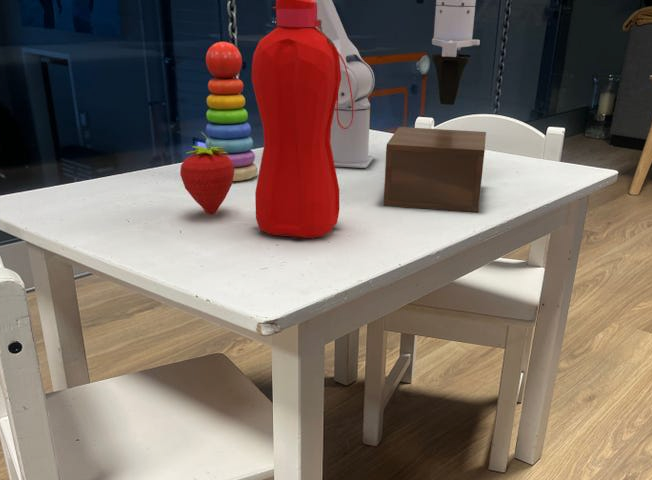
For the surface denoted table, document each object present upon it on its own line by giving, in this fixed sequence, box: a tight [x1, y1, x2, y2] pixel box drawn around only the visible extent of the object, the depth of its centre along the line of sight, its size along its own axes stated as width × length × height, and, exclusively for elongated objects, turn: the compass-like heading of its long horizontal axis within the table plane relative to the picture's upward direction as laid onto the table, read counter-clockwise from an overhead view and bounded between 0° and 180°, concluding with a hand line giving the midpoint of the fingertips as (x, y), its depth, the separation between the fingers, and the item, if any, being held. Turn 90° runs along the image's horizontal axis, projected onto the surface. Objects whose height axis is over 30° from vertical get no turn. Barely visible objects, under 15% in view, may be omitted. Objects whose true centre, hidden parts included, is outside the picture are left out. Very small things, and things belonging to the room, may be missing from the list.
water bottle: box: [251, 0, 353, 239], centre depth 81 cm, size 9×11×25 cm
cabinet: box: [383, 126, 487, 213], centre depth 100 cm, size 14×13×8 cm
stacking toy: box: [205, 41, 258, 182], centre depth 105 cm, size 8×8×19 cm
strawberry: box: [179, 131, 235, 216], centre depth 89 cm, size 6×8×10 cm
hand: (447, 104), depth 112 cm, fingers closed
